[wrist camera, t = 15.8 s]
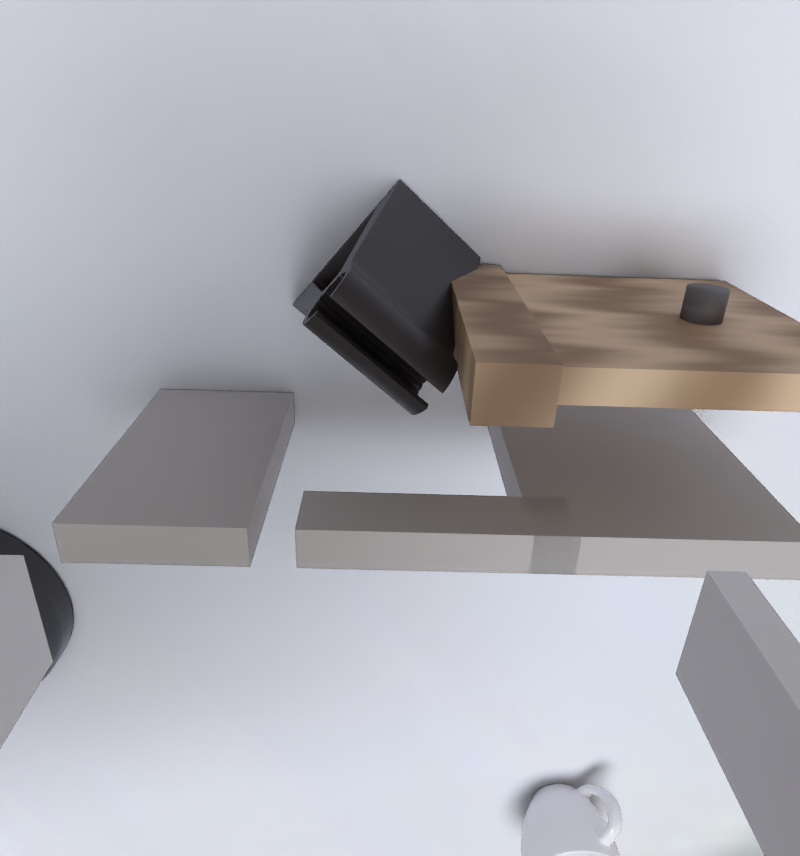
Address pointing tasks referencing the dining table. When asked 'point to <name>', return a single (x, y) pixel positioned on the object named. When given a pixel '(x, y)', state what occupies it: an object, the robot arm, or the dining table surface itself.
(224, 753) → the dining table surface
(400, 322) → the phone stand
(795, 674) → the robot arm
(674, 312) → the door
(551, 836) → the cup
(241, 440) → the wall
